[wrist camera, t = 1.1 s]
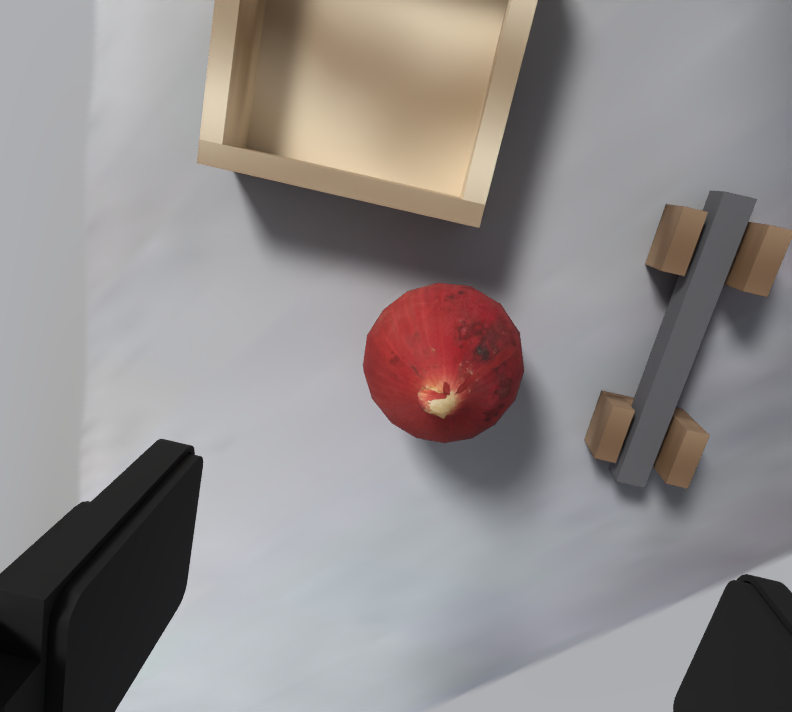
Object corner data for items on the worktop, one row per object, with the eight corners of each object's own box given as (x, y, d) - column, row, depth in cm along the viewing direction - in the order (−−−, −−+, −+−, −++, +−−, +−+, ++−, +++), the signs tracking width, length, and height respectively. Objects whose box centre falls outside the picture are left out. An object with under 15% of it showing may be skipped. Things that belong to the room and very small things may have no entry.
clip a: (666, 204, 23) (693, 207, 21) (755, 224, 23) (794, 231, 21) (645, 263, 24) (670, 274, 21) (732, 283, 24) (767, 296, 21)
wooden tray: (268, -128, 21) (235, -185, 18) (545, -65, 21) (566, -110, 18) (230, 165, 24) (196, 163, 21) (473, 220, 24) (479, 228, 21)
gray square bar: (709, 190, 23) (724, 191, 21) (740, 198, 23) (757, 199, 21) (608, 467, 26) (616, 481, 25) (635, 474, 26) (644, 488, 25)
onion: (460, 241, 24) (470, 270, 17) (537, 351, 25) (579, 426, 18) (348, 321, 26) (310, 382, 18) (426, 422, 27) (421, 521, 19)
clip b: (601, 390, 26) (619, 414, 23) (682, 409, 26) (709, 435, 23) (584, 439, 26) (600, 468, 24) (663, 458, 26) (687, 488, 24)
